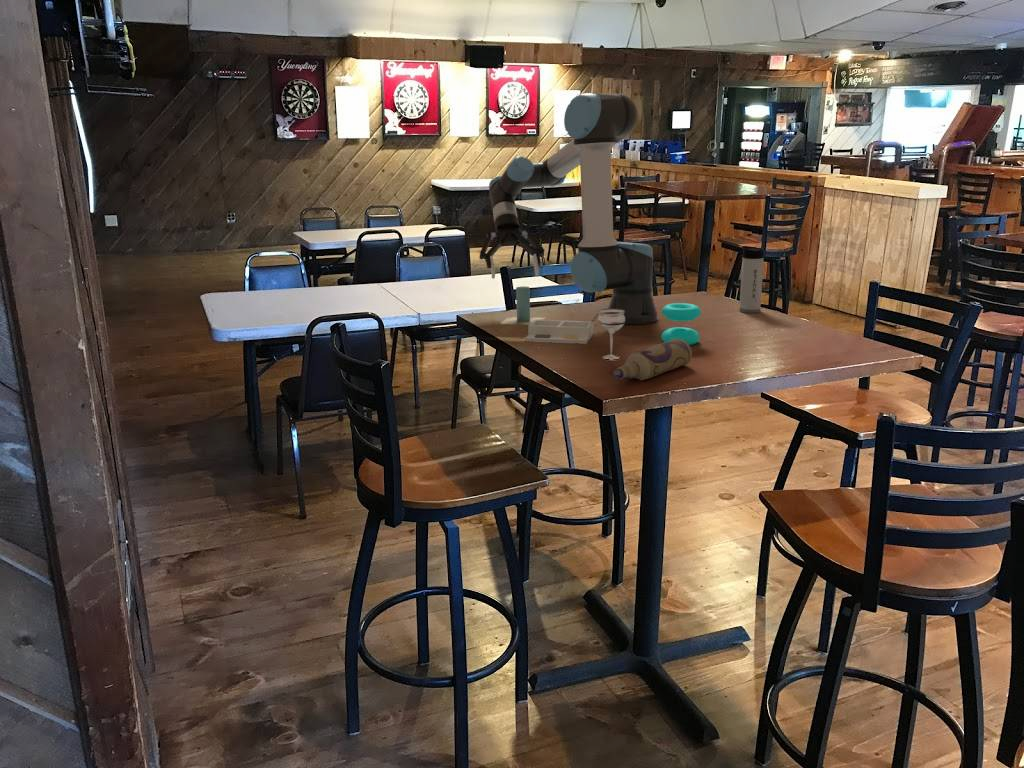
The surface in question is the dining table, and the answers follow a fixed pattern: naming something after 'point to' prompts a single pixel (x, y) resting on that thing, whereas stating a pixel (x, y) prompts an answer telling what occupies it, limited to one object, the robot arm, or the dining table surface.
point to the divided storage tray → (560, 331)
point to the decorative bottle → (655, 360)
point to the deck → (514, 321)
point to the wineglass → (611, 325)
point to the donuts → (681, 314)
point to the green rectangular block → (523, 303)
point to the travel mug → (751, 279)
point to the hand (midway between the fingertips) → (515, 274)
